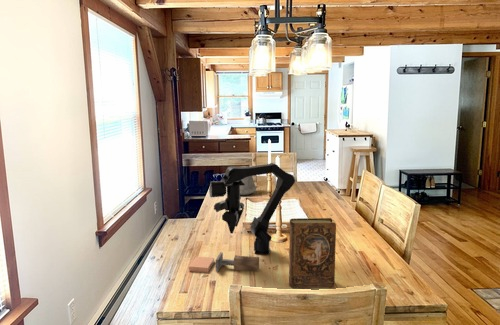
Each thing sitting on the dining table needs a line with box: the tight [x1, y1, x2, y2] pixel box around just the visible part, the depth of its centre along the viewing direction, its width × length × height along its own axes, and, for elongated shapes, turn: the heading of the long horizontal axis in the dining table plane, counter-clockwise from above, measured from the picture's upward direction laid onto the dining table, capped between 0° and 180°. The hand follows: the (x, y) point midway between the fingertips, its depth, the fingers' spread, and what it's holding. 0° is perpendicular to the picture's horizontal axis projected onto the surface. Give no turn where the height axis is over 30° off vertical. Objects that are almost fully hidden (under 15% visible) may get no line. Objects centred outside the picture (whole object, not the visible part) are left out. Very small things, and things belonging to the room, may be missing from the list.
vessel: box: [238, 165, 258, 196], centre depth 277 cm, size 22×22×20 cm
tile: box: [188, 256, 215, 273], centre depth 155 cm, size 2×10×8 cm
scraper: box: [215, 251, 260, 273], centre depth 153 cm, size 17×8×5 cm, turn 81°
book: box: [288, 217, 337, 289], centre depth 138 cm, size 16×6×25 cm, turn 92°
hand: (233, 229), depth 165 cm, fingers open, 9 cm apart
